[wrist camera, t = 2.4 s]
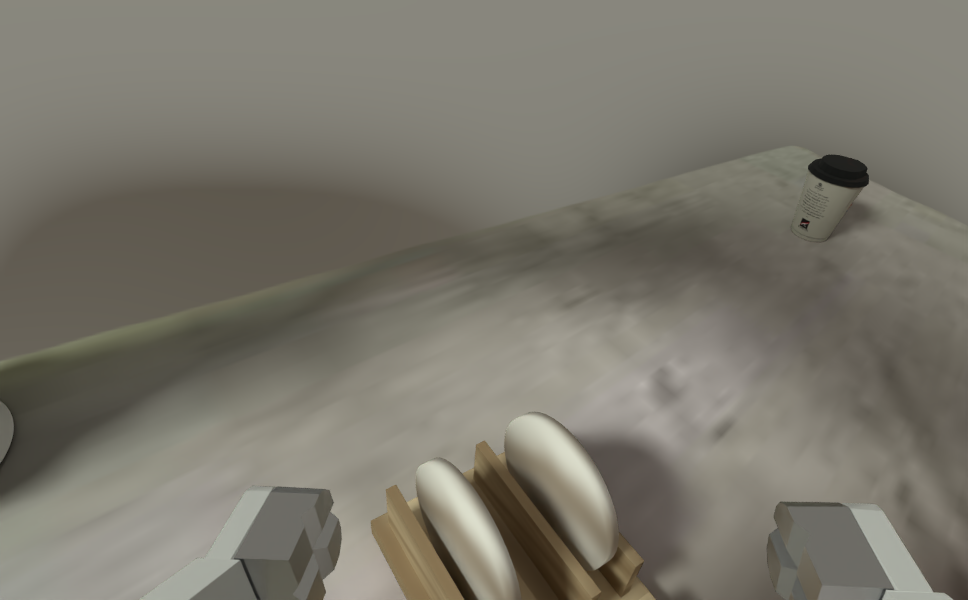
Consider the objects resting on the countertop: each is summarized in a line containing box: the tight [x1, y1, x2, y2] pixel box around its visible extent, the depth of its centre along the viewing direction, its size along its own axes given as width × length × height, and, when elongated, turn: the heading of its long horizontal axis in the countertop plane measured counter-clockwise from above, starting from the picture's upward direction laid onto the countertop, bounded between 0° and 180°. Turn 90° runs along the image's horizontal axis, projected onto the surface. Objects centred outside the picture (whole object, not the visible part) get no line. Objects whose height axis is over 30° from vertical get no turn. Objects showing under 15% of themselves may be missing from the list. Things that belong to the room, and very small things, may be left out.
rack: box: [371, 412, 656, 600], centre depth 32 cm, size 13×24×12 cm, turn 33°
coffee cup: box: [791, 155, 869, 242], centre depth 73 cm, size 7×7×10 cm
